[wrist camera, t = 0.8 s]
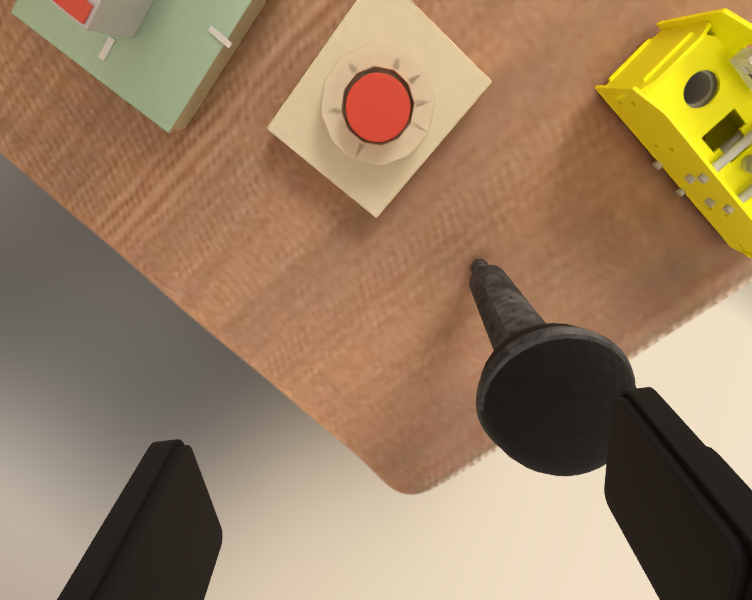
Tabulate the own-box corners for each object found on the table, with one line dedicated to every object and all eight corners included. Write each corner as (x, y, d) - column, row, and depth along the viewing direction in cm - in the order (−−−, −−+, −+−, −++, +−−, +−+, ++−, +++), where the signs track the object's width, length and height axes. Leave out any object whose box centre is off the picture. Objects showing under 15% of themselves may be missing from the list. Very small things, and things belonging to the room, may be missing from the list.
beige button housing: (378, -25, 29) (379, -40, 25) (485, 81, 31) (499, 81, 28) (272, 125, 32) (259, 131, 29) (376, 210, 35) (376, 225, 31)
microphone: (414, 278, 37) (457, 472, 19) (468, 202, 35) (575, 339, 16) (487, 320, 39) (590, 537, 20) (542, 250, 36) (716, 424, 18)
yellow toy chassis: (790, 189, 34) (909, 220, 27) (719, 246, 36) (812, 291, 28) (658, 16, 30) (756, -6, 22) (585, 91, 32) (652, 94, 24)
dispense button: (373, 58, 28) (373, 57, 26) (420, 102, 28) (423, 103, 27) (334, 111, 29) (332, 112, 27) (381, 151, 30) (381, 155, 28)
